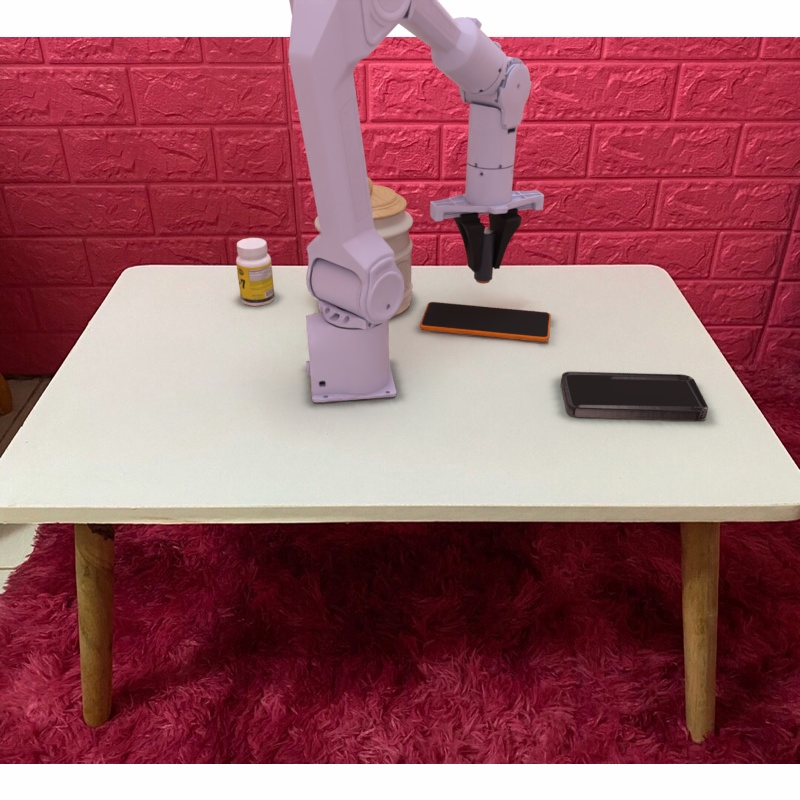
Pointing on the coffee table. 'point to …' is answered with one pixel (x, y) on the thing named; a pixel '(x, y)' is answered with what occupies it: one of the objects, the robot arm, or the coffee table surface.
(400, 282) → the robot arm
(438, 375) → the coffee table surface
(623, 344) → the coffee table surface
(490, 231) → the lipstick
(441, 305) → the smartphone
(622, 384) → the phone
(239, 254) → the supplement bottle
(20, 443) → the coffee table surface
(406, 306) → the jar
